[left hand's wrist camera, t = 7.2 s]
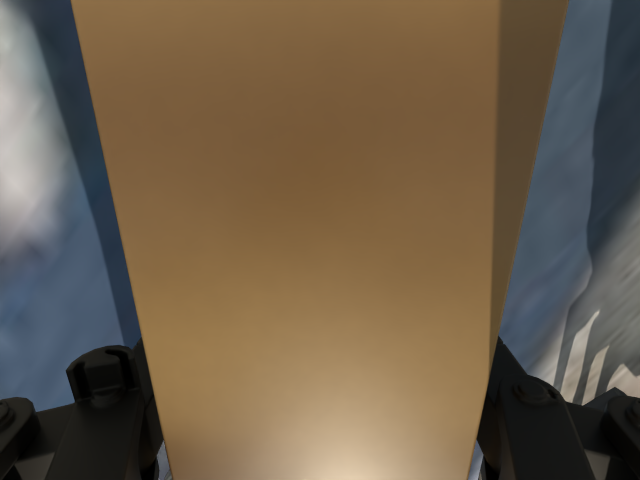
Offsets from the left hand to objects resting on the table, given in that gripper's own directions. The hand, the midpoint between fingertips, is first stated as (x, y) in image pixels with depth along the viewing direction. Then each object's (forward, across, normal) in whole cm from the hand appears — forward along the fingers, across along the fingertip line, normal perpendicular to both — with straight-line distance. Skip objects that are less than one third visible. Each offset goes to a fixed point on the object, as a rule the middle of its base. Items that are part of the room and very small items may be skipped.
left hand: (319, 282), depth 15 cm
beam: (0, 0, -20) cm, 20 cm away
